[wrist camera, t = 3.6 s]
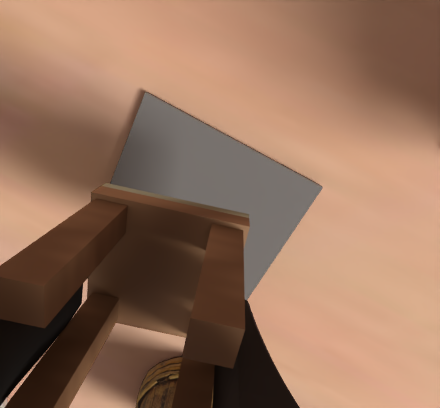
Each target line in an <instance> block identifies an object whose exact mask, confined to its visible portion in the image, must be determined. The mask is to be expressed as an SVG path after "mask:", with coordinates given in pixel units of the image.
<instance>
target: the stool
mask: <svg viewBox="0 0 440 408" xmlns="http://www.w3.org/2000/svg"><path fill="white" fill-rule="evenodd" d="M249 228H250V222H249V214H246V213H241V212H237V211H232V210H228V209H223V208H218V207H214V206H209V205H205V204H200V203H196V202H191V201H186V200H182V199H177V198H173V197H168V196H164V195H159V194H154V193H150V192H145V191H141V190H136V189H132V188H127V187H122V186H118V185H113V184H109V183H105V184H103V185H102V186H100V187H99V188H97V189H96V190H94V191H92V192H91V202H90V203H89V204H88V205H86V206H85V207H83V208H82V209H80V210H79V211H78V212H76V213H75V214H73V215H72V216H70V217H69V218H68V219H66V220H65V221H63V222H62V223H60V224H59V225H58V226H56V227H55V228H53V229H52V230H50V231H49V232H48V233H46V234H45V235H43V236H42V237H40V238H39V239H38V240H36V241H35V242H33V243H32V244H31V245H29V246H28V247H26V248H25V249H23V250H22V251H21V252H19V253H18V254H16V255H15V256H13V257H12V258H11V259H9V260H8V261H6V262H5V263H3V264H2V265H1V266H0V319H3V320H8V321H12V322H17V323H22V324H26V325H31V326H36V327H40V328H46V326H47V325H48V324H49V323H50V322H51V321H52V319H53V318H54V317H55V316H56V315H57V313H58V312H59V311H60V310H61V309H62V308H63V306H64V305H65V304H66V303H67V302H68V300H69V299H70V298H71V297H72V296H73V295H74V293H75V292H76V291H77V290H78V289H79V288H80V286H81V285H82V284H83V283H84V282H85V280H86V279H87V278H88V291H87V300H86V301H85V302H84V304H83V305H82V306H81V308H80V309H79V310H78V311H77V313H76V314H75V315H74V317H73V318H72V319H71V321H70V322H69V323H68V325H67V326H66V328H65V329H64V330H63V331H62V332H61V334H60V335H59V336H58V338H57V339H56V340H55V342H54V343H53V344H52V346H51V347H50V348H49V350H48V351H47V352H46V353H45V355H44V356H43V357H42V359H41V360H40V361H39V363H38V364H37V365H36V367H35V368H34V369H33V371H32V372H31V373H30V374H29V376H28V377H27V378H26V380H25V381H24V382H23V384H22V385H21V386H20V388H19V389H18V390H17V392H16V393H15V394H14V395H13V397H12V398H11V399H10V401H9V402H8V403H7V405H6V406H5V407H4V408H69V406H70V404H71V403H72V401H73V399H74V397H75V395H76V394H77V392H78V390H79V388H80V386H81V385H82V383H83V381H84V379H85V377H86V375H87V374H88V372H89V370H90V368H91V366H92V365H93V363H94V361H95V359H96V357H97V356H98V354H99V352H100V350H101V348H102V347H103V345H104V343H105V341H106V339H107V338H108V336H109V334H110V332H111V330H112V329H113V327H114V325H115V323H120V324H124V325H129V326H134V327H138V328H143V329H148V330H152V331H157V332H162V333H166V334H171V335H176V336H180V337H185V338H186V341H185V345H184V350H183V355H182V362H181V367H180V371H179V376H178V380H177V385H176V389H175V394H174V398H173V403H172V407H171V408H211V405H212V394H213V384H214V367H215V365H218V366H223V367H228V368H232V369H233V367H234V364H235V360H236V357H237V354H238V351H239V348H240V345H241V341H242V338H243V335H244V332H245V292H244V246H245V243H246V239H247V235H248V232H249Z"/></svg>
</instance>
